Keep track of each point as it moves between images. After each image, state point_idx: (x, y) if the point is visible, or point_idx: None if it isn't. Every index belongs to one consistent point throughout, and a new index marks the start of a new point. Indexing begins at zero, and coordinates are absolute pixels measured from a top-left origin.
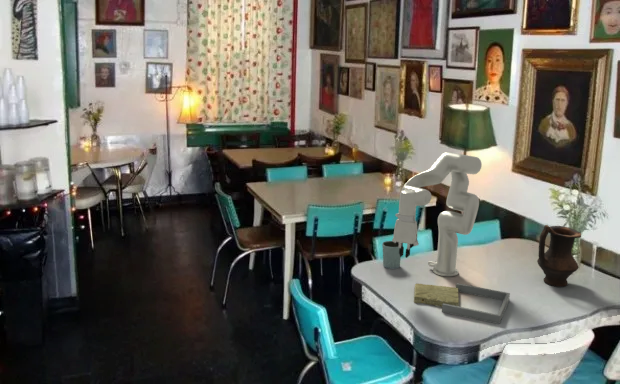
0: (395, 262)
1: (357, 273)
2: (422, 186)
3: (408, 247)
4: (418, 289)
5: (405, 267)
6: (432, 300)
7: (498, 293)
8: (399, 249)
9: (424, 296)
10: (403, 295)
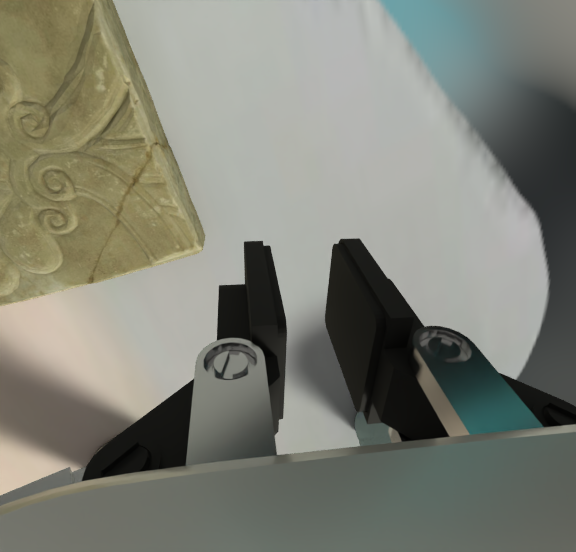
0: (379, 425)
1: (541, 272)
2: None
3: (233, 385)
4: (125, 143)
5: (328, 429)
6: None
7: None
8: (417, 323)
9: (14, 24)
10: (225, 80)
